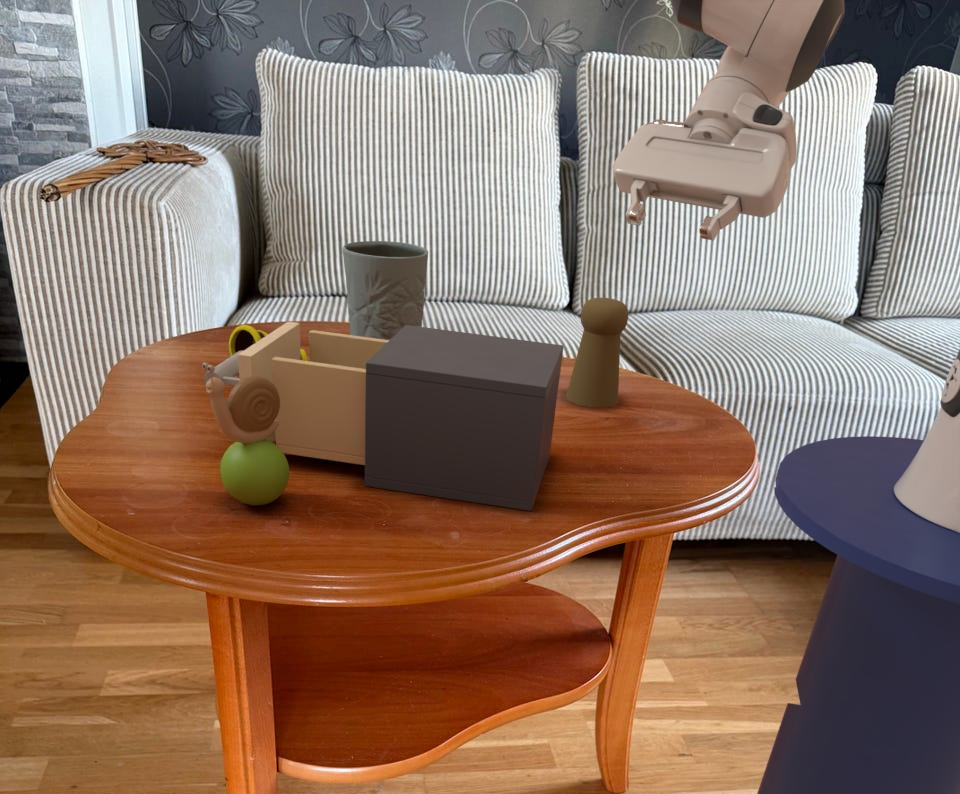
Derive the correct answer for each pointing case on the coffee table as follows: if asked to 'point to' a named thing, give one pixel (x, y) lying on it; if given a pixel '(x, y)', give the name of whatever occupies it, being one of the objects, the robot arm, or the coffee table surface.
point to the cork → (598, 354)
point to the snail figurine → (249, 438)
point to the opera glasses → (249, 339)
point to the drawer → (311, 389)
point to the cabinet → (461, 416)
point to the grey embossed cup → (384, 287)
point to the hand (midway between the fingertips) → (668, 228)
